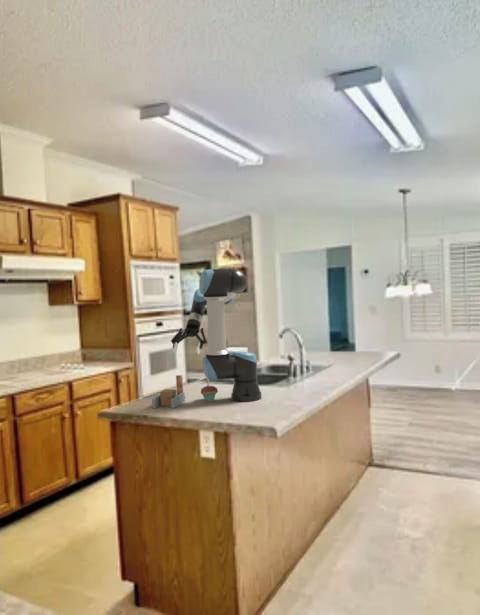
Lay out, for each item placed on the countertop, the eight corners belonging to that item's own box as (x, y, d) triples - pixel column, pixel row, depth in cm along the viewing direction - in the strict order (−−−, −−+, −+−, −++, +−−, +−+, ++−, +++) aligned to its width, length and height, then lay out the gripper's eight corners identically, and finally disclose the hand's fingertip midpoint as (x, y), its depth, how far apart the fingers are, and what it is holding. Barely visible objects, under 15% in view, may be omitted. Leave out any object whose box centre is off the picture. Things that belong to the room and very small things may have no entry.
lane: (164, 401, 245) (164, 392, 245) (184, 401, 242) (184, 392, 242) (152, 408, 232) (152, 398, 232) (173, 408, 229) (173, 399, 229)
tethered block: (176, 396, 254) (175, 374, 254) (187, 397, 253) (186, 374, 252) (160, 406, 235) (159, 382, 234) (172, 406, 233) (171, 382, 233)
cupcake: (198, 399, 246) (197, 375, 246) (214, 397, 250) (213, 373, 249) (204, 402, 238) (203, 378, 238) (220, 400, 242) (219, 376, 241)
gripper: (216, 326, 274) (209, 357, 261) (175, 327, 281) (166, 357, 267) (213, 318, 269) (205, 348, 255) (171, 318, 275) (161, 349, 262)
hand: (185, 353), depth 261 cm, fingers open, 13 cm apart
